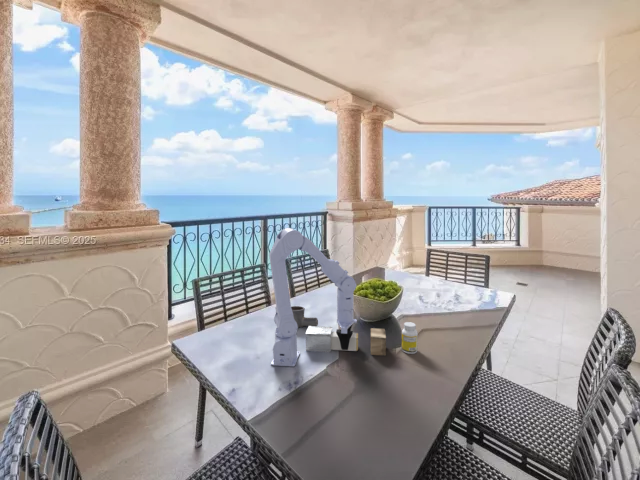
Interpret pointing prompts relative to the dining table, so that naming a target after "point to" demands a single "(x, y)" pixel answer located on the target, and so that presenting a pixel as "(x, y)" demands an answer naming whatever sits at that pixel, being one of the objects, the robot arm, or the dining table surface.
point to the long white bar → (337, 346)
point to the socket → (378, 342)
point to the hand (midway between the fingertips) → (345, 344)
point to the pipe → (300, 319)
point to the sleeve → (318, 339)
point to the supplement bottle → (409, 338)
